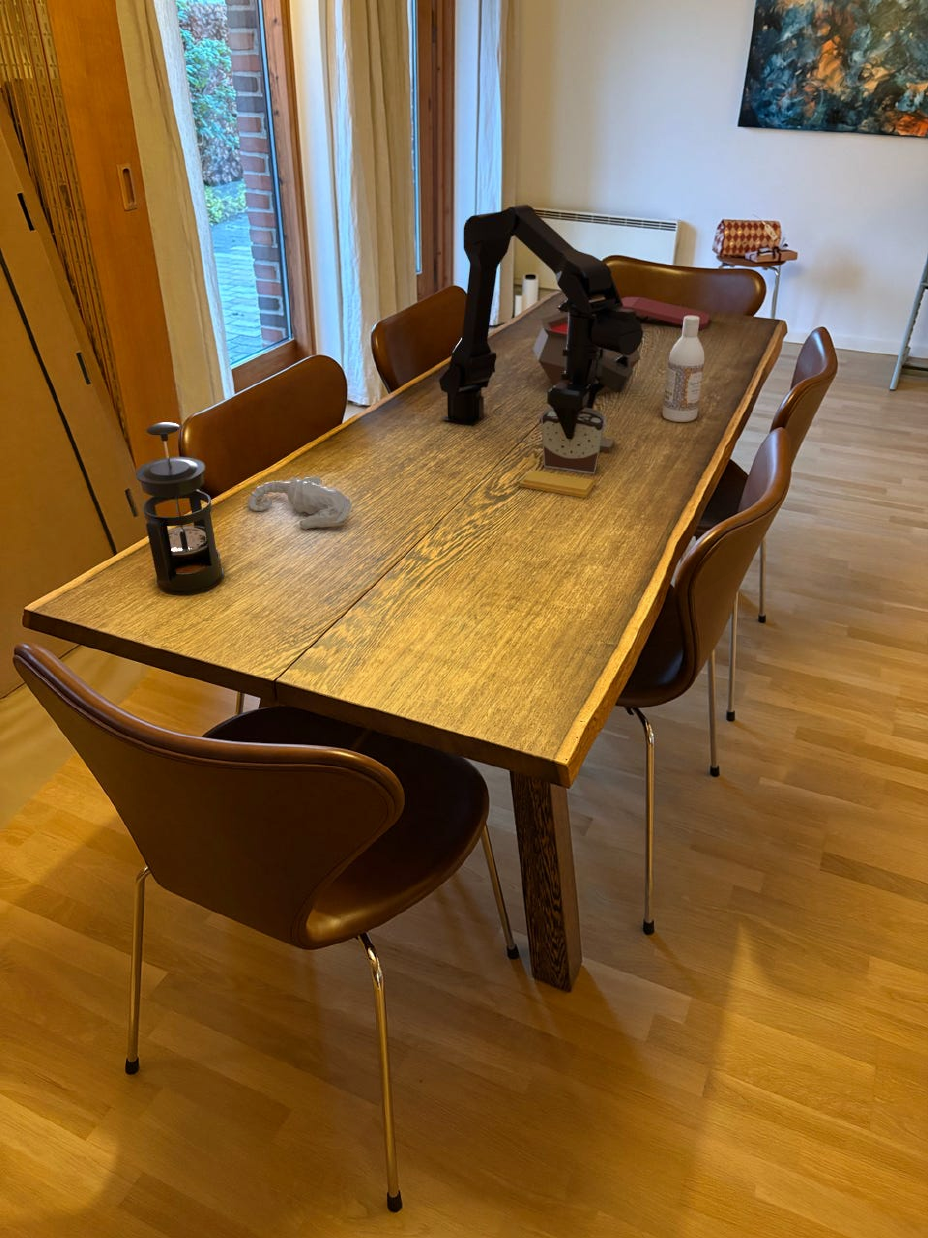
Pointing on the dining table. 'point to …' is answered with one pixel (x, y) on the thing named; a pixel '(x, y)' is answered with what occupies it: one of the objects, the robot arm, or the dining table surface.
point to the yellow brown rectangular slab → (557, 483)
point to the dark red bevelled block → (663, 310)
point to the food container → (572, 441)
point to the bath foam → (684, 375)
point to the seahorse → (307, 501)
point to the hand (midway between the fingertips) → (577, 430)
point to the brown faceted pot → (562, 347)
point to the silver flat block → (607, 444)
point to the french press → (179, 522)
